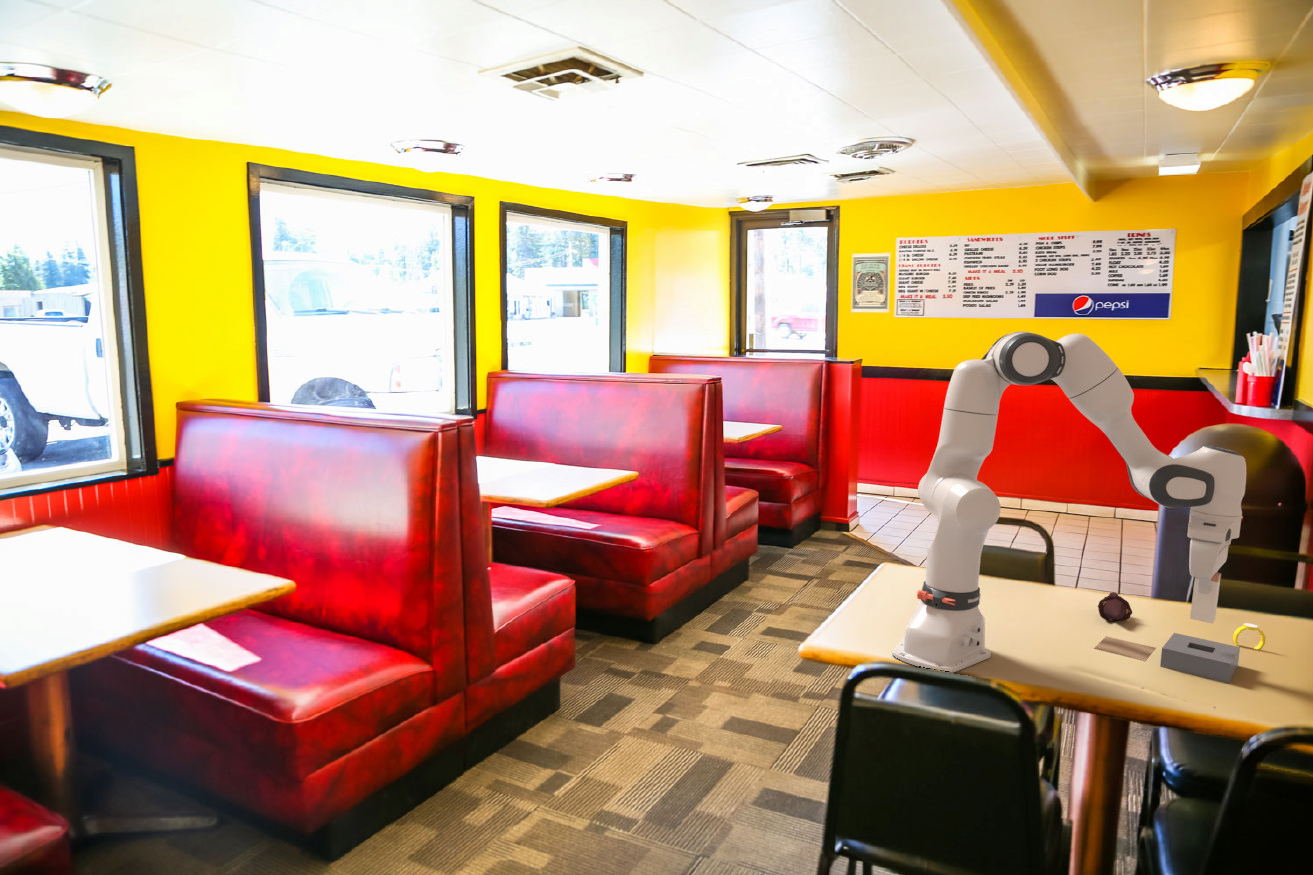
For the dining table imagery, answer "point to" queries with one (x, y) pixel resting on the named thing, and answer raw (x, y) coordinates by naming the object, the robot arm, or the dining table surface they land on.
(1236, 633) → the watch
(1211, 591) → the plug
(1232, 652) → the block
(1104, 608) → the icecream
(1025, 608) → the dining table surface
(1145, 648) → the pad
